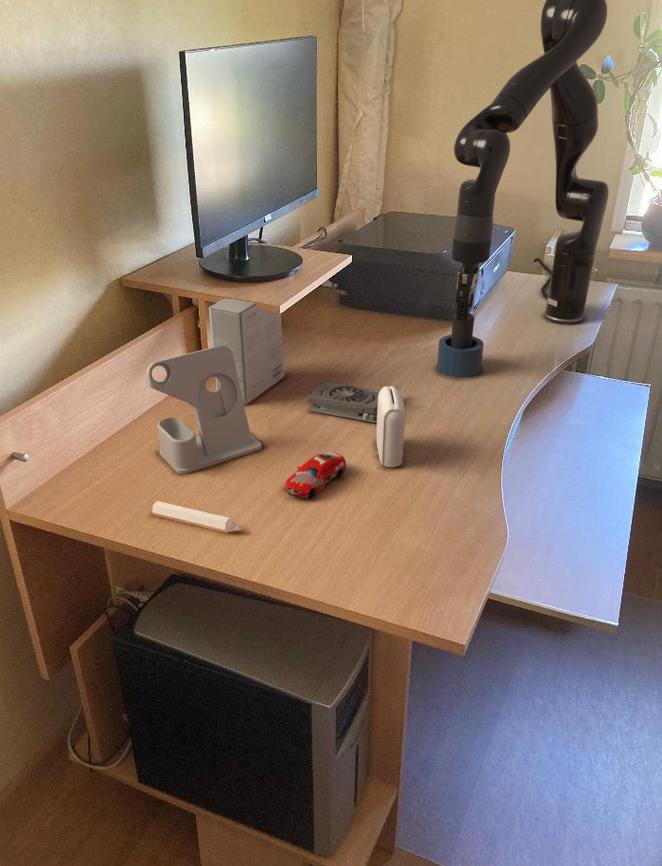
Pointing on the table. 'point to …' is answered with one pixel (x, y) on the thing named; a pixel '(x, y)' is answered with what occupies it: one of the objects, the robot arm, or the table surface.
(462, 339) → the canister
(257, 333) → the hard drive box
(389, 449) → the photo printer
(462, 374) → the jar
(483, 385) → the table surface
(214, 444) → the phone holder
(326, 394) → the graphics card
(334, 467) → the race car
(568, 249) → the robot arm
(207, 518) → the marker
